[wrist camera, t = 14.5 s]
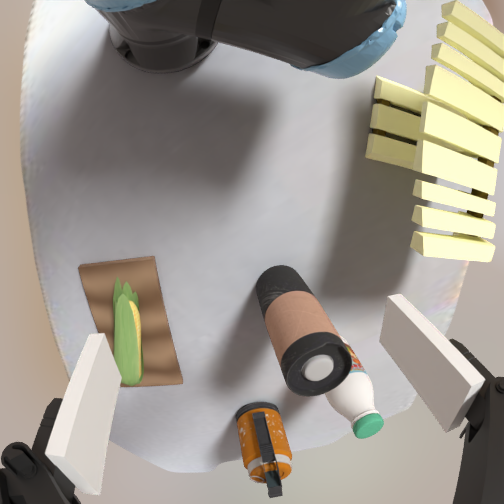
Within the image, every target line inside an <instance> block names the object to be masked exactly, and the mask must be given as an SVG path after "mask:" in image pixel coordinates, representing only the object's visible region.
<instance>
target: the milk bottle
mask: <svg viewBox="0 0 504 504" xmlns="http://www.w3.org/2000/svg"><path fill="white" fill-rule="evenodd" d="M339 336H340V335H339ZM340 337H341V339H342V341H343V342H344V344H345V346H346V347H347V349H348V351H349V352H350V354H351V357H352V368H351V371H350V373H349V375H348V376H347V378H346V379H345V380H344V381H343V382H342V383H341V384H340V385H339V386H337V387H336V388H334V389H333V390H331V391H329V392H327V393H325V395H326V397H327V399H328V401H329V403H330V404H331V406H332V407H333V408H334V409H335V410H336V411H337V412H338V413H340V414H341V415H343V416H344V417H346V418H347V419H348V420H349V421H350V422H351V428H352V429H353V432H354V434H355V436H356V437H357V438H361V439H362V438H367V437H370V436H372V435H374V434H376V433H377V432H378V431H379V430H380V429H381V428H382V427H383V424H384V421H383V419H382V417H381V416H380V414H379V412H378V411H376V410H375V407H374V392H373V386H372V383H371V380H370V378H369V377H368V375H367V373H366V371H365V370H364V368H363V366H362V365H361V363H360V361H359V360H358V358H357V357H356V355H355V353H354V352H353V350H352V349H351V347H350V346H349V344H348V343H347V341H346V340H345V339H344V338H343V337H342V336H340Z"/></svg>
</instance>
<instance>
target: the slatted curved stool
mask: <svg viewBox="0 0 504 504" xmlns="http://www.w3.org/2000/svg"><path fill="white" fill-rule="evenodd" d="M442 17H443V18H444V19H446V20H448V22H445V23H441V24H438V25H437V38H439V39H441V40H442V41H444V42H446V43H447V44H449V45H451V46H452V47H454V48H455V49H457V50H459V51H460V52H462V53H463V54H464V55H466V56H467V57H468V58H470V59H471V60H472V61H471V60H470V59H468V58H467V57H465V56H463V55H462V54H460V53H458V52H457V51H455V50H453V49H452V48H450V47H448V46H446V45H445V44H443V43H439V44H435V45H432V53H431V59H433V60H435V61H437V62H439V63H441V64H443V65H444V66H446V67H448V68H450V69H451V70H453V71H455V72H456V73H458V74H459V75H461V76H462V77H464V78H465V79H467V80H468V81H469V82H470V83H471V84H470V83H468V82H467V81H465V80H463V79H462V78H460V77H458V76H456V75H454V74H453V73H451V72H449V71H447V70H445V69H443V68H441V67H439V66H437V65H430V66H426V74H425V85H424V94H423V93H421V92H418V91H416V90H413V89H411V88H408V87H406V86H403V85H401V84H398V83H396V82H393V81H390V80H387V79H385V78H382V77H379V76H376V85H375V93H374V98H375V99H377V104H373V109H372V116H371V123H370V128H373V133H372V134H369V136H368V142H367V148H366V154H365V158H369V159H373V160H377V161H381V162H385V163H390V164H394V165H397V166H401V167H405V168H409V169H413V170H414V171H418V172H421V173H425V174H428V175H432V176H435V177H439V178H442V179H445V180H449V181H452V182H455V183H458V184H461V185H464V186H468V187H471V188H472V192H471V194H470V193H466V192H463V191H460V190H454V189H450V188H447V187H443V186H439V185H436V184H432V183H428V182H425V181H421V180H417V179H416V180H415V184H414V189H413V194H412V195H414V196H416V197H419V198H421V199H425V200H429V201H434V202H438V203H442V204H446V205H451V206H455V207H459V208H463V209H466V210H467V213H465V212H461V211H458V213H455V212H449V211H444V210H439V209H434V208H429V207H424V206H419V205H415V208H414V212H413V216H412V220H411V221H413V222H415V223H417V224H419V225H421V226H422V227H429V228H435V229H441V230H447V231H452V232H454V233H453V236H452V235H441V234H433V233H425V232H418V231H414V233H413V236H412V240H411V244H410V247H411V248H413V249H414V250H416V251H417V252H419V253H420V254H421V255H423V256H429V257H440V258H451V259H462V260H472V261H483V262H490V261H491V260H492V257H493V254H494V250H495V246H494V245H493V244H491V243H490V242H488V241H486V240H484V239H482V238H481V237H486V238H491V239H493V236H494V231H495V224H494V223H492V222H490V221H488V220H486V219H484V218H483V214H486V215H489V216H494V212H495V205H496V203H494V202H491V201H489V200H487V198H488V194H491V195H494V190H495V184H496V176H497V169H495V168H493V167H494V163H498V160H499V154H500V147H501V140H502V139H501V138H500V137H498V133H499V132H503V127H504V105H503V104H502V103H504V35H503V34H502V33H501V32H500V31H498V30H497V29H496V28H495V27H493V26H492V25H491V24H490V23H488V22H487V21H486V20H484V19H483V18H482V17H480V16H479V15H477V14H476V13H475V12H473V11H472V10H470V9H469V8H468V7H466V6H465V5H463V4H462V3H460V2H459V1H457V0H455V1H452V2H449V3H446V4H443V5H442ZM474 62H475V63H474ZM390 104H393V105H396V106H399V107H402V108H404V109H407V110H410V111H412V112H415V113H418V114H420V115H421V117H418V116H415V115H412V114H409V113H406V112H403V111H401V110H398V109H395V108H391V107H390ZM386 132H387V133H391V134H394V135H397V136H400V137H404V138H407V139H410V140H413V141H416V142H417V146H414V145H411V144H408V143H404V142H401V141H398V140H394V139H391V138H387V137H385V135H386ZM467 156H468V157H467ZM470 157H473V158H477V159H478V161H477V160H474V159H472V158H470ZM479 236H480V237H479Z"/></svg>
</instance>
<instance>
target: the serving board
mask: <svg viewBox="0 0 504 504" xmlns="http://www.w3.org/2000/svg"><path fill="white" fill-rule="evenodd" d="M78 269H79V273H80V276H81V280H82V283H83V287H84V290H85V293H86V296H87V300H88V303H89V306H90V309H91V312H92V315H93V318H94V321H95V323H96V326H97V329H98V332H99V333H105V336H106V339H107V342H108V344H109V347H110V350H111V352H112V355H113V357H114V313H113V295H114V287H115V282H116V278H117V276H118V278H119V280H120V284H121V288H122V289H123V286H124V284H125V282H126V281H127V283H128V284H129V285H130V287H131V290H132V294H133V293H134V292H135V291H136V293H137V296H138V301H139V313H140V321H141V338H142V349H143V360H144V374H143V379H142V381H141V382H140V384H136V385H134V386H129V385H126V384H123V383H120V386H121V387H140V386H160V385H175V384H183V378H182V374H181V371H180V367H179V363H178V359H177V356H176V352H175V348H174V344H173V340H172V336H171V332H170V328H169V323H168V319H167V315H166V311H165V306H164V302H163V297H162V292H161V288H160V283H159V278H158V273H157V268H156V263H155V257H154V256H150V257H141V258H133V259H124V260H116V261H107V262H99V263H91V264H82V265H80V266H79V267H78Z"/></svg>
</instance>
